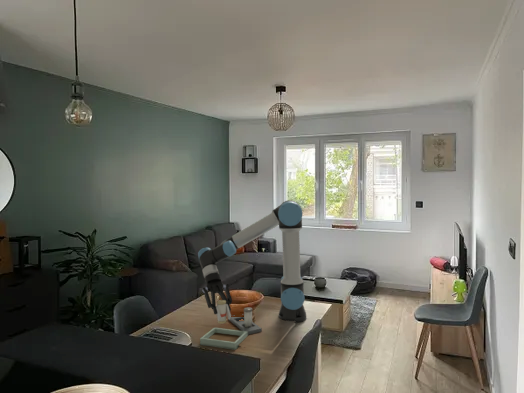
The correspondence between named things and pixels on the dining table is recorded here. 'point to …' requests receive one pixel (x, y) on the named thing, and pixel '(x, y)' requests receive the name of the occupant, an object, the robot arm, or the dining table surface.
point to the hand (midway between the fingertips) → (224, 318)
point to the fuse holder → (240, 325)
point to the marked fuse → (222, 311)
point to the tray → (223, 344)
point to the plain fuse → (247, 317)
